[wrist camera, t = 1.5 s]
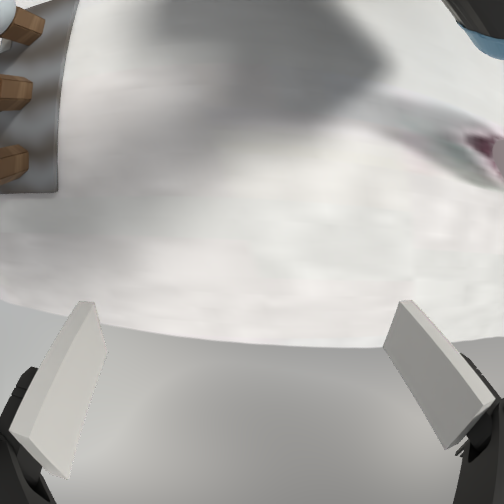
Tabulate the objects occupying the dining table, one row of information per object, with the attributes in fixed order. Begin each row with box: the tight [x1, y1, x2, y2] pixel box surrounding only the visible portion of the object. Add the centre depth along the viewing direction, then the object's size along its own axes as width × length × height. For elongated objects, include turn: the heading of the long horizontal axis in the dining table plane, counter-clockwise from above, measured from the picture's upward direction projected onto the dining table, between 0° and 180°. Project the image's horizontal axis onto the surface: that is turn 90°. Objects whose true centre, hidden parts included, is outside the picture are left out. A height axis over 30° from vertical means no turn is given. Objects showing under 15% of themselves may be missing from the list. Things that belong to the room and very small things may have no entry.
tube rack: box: [0, 0, 79, 194], centre depth 22 cm, size 28×13×8 cm, turn 174°
